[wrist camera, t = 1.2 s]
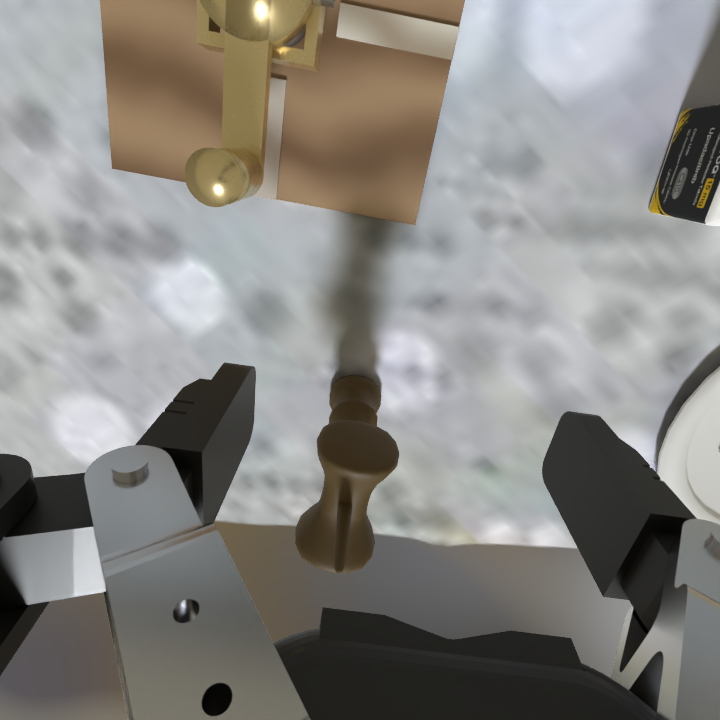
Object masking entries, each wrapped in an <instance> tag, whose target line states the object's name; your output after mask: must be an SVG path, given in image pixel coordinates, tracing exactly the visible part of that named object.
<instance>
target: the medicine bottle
mask: <svg viewBox="0 0 720 720" xmlns="http://www.w3.org/2000/svg"><path fill="white" fill-rule="evenodd" d="M649 211H650V212H651V213H655V214H659V215H664V216H668V217H673V218H678V219H682V220H687V221H691V222H696V223H700V224H705V225H711V226H720V104H718V105H711V106H704V107H697V108H690V109H685V110H683V111H682V112H681V114H680V116H679V119H678V122H677V125H676V128H675V131H674V134H673V137H672V140H671V143H670V146H669V149H668V152H667V155H666V158H665V161H664V164H663V167H662V170H661V173H660V176H659V179H658V182H657V185H656V188H655V191H654V194H653V197H652V200H651V203H650V206H649Z"/></svg>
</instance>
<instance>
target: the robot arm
mask: <svg viewBox="0 0 720 720" xmlns="http://www.w3.org/2000/svg"><path fill="white" fill-rule="evenodd" d="M255 382H256V371H255V367H253V366H246V365H238V364H231V363H224V364H223V365H222V366H221V367H220V369H219V370H218V372H217V373H216V374H215V376H214V377H213V378H212V380H207V379H198V380H197V381H195V382H193V383H191V384H189V385H187V386H185V387H183V388H182V390H181V391H180V392H179V393H178V394H177V396H176V397H175V398H174V399H173V402H171V403H170V404H169V405H168V406H167V408H166V409H165V412H162V414H161V415H160V416H159V417H158V418H157V420H156V421H155V422H154V423H153V424H152V426H151V427H150V428H149V429H148V430H147V432H146V433H145V434H144V435H143V436H142V438H141V439H140V440H139V441H138V442H137V444H136V445H135V446H127V447H122V448H119V449H115V450H113V451H110V452H108V453H106V454H104V455H102V456H101V457H99V458H97V459H96V460H95V461H94V462H93V463H92V464H91V465H90V466H89V467H88V469H87V471H86V473H80V474H71V475H59V476H48V477H37V478H34V477H33V472H32V468H31V465H30V463H29V462H28V461H27V460H26V459H24V458H22V457H19V456H16V455H10V454H0V675H1V674H2V672H3V671H4V669H5V668H6V666H7V665H8V663H9V662H10V660H11V659H12V657H13V656H14V654H15V653H16V651H17V650H18V648H19V647H20V645H21V644H22V642H23V641H24V639H25V638H26V636H27V635H28V633H29V632H30V630H31V628H32V627H33V626H34V624H35V623H36V621H37V620H38V618H39V617H40V615H41V614H42V612H43V611H44V609H45V608H46V606H47V605H48V603H49V601H53V600H59V599H65V598H71V597H77V596H83V595H88V594H94V593H100V592H103V593H104V598H105V603H106V608H107V613H108V618H109V624H110V629H111V633H112V639H113V644H114V649H115V654H116V659H117V665H118V670H119V675H120V679H121V685H122V691H123V696H124V702H125V707H126V713H127V718H128V720H720V525H719V524H717V523H714V522H711V521H707V520H702V519H697V518H696V517H695V516H694V515H693V514H692V512H691V511H690V510H689V509H688V508H687V507H686V506H685V505H684V503H683V502H682V501H681V500H680V499H679V498H678V497H677V496H676V494H675V493H674V492H673V491H672V490H671V489H670V488H669V487H668V485H667V484H666V483H665V482H664V481H661V480H660V476H659V475H658V474H657V473H656V472H655V471H654V470H653V469H652V468H650V467H649V466H650V465H649V464H648V463H647V462H646V461H645V460H644V458H643V457H642V456H641V455H640V454H639V453H638V452H637V451H636V450H635V449H633V448H632V447H631V446H629V445H628V444H626V443H625V442H624V441H622V440H621V439H619V438H618V436H617V435H616V434H615V433H614V432H613V431H612V430H611V428H610V427H609V426H608V425H607V424H606V423H605V421H604V420H603V419H602V418H601V417H600V416H597V415H591V414H584V413H577V412H570V411H569V412H566V413H564V414H563V415H562V417H561V419H560V421H559V423H558V426H557V428H556V431H555V433H554V436H553V438H552V441H551V443H550V446H549V448H548V451H547V453H546V456H545V458H544V461H543V468H542V474H543V480H544V483H545V485H546V487H547V489H548V491H549V493H550V495H551V497H552V499H553V501H554V503H555V505H556V506H557V508H558V510H559V512H560V514H561V516H562V518H563V520H564V522H565V524H566V526H567V528H568V530H569V532H570V534H571V535H572V537H573V539H574V541H575V543H576V545H577V547H578V549H579V551H580V553H581V555H582V557H583V558H584V561H585V562H586V564H587V566H588V568H589V570H590V572H591V574H592V576H593V578H594V580H595V582H596V583H597V586H598V588H599V589H600V592H601V593H602V595H603V597H610V598H618V599H626V600H630V602H631V604H632V607H631V608H630V610H629V612H628V613H627V615H626V617H625V620H624V625H623V629H622V633H621V637H620V641H619V645H618V649H617V653H616V657H615V661H614V665H613V669H612V673H611V677H610V678H609V677H607V676H606V675H604V674H602V673H600V672H598V671H597V670H595V669H593V668H590V667H589V666H587V665H584V664H582V663H581V662H580V660H579V657H578V655H577V652H576V650H575V647H574V645H573V642H572V640H571V638H565V637H557V636H549V635H541V634H532V633H524V632H517V631H506V632H500V633H494V634H487V635H481V636H475V637H469V638H463V639H454V640H452V639H446V638H443V637H440V636H438V635H435V634H433V633H430V632H427V631H425V630H422V629H419V628H417V627H414V626H411V625H409V624H406V623H404V622H401V621H399V620H396V619H393V618H391V617H388V616H386V615H379V614H371V613H363V612H355V611H347V610H339V609H331V608H323V610H322V616H321V623H320V629H314V630H308V631H304V632H301V633H298V634H294V635H291V636H288V637H286V638H284V639H282V640H279V641H277V642H275V643H273V642H272V640H271V638H270V636H269V634H268V632H267V630H266V628H265V626H264V624H263V622H262V620H261V617H260V615H259V613H258V611H257V609H256V607H255V605H254V603H253V601H252V599H251V597H250V595H249V593H248V591H247V589H246V587H245V585H244V583H243V581H242V579H241V577H240V575H239V572H238V571H237V568H236V566H235V564H234V562H233V560H232V558H231V556H230V554H229V552H228V550H227V548H226V546H225V544H224V542H223V540H222V538H221V536H220V534H219V532H218V530H217V528H216V527H215V526H214V525H213V523H214V521H215V518H216V516H217V514H218V512H219V509H220V507H221V505H222V503H223V500H224V498H225V496H226V494H227V491H228V489H229V487H230V484H231V482H232V480H233V478H234V475H235V473H236V471H237V469H238V466H239V464H240V462H241V460H242V457H243V455H244V453H245V451H246V448H247V446H248V444H249V441H250V438H251V434H252V430H253V423H254V406H255Z"/></svg>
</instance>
